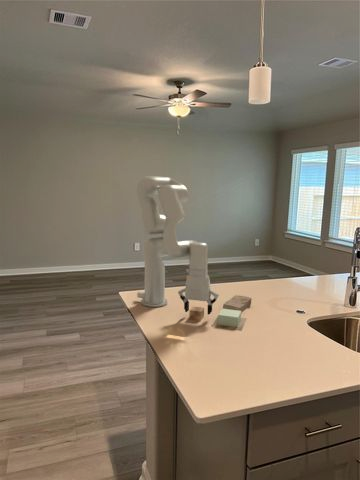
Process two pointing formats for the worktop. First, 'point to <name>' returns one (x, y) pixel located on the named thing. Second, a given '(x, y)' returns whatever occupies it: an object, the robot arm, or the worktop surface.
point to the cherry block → (196, 313)
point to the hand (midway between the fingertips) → (198, 312)
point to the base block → (229, 317)
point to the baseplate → (230, 326)
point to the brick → (238, 303)
